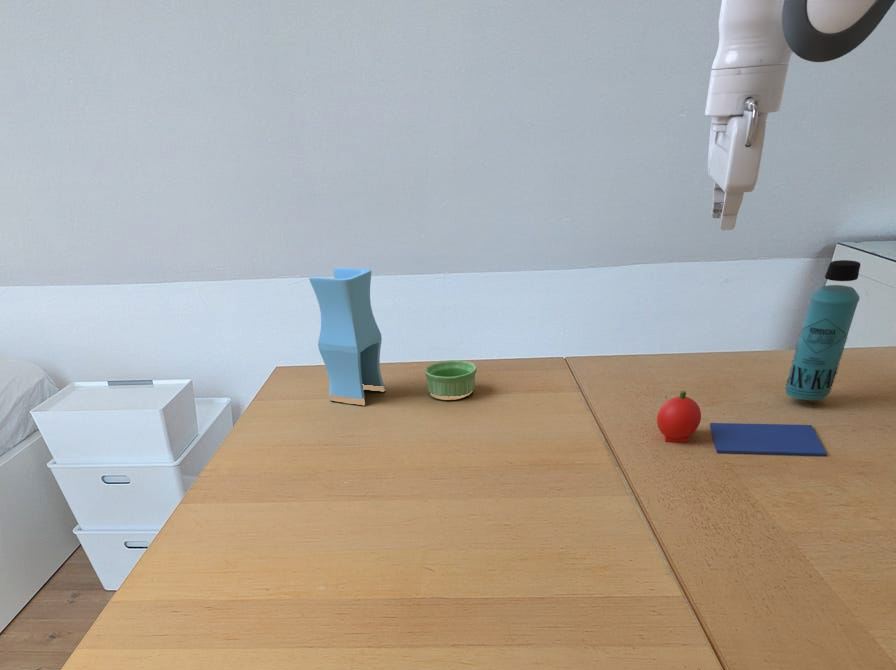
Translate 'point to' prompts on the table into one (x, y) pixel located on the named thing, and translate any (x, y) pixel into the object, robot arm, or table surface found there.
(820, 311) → the beverage bottle
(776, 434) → the cloth
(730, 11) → the robot arm
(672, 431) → the red ball with base
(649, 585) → the table surface
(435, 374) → the ramekin
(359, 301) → the vase
